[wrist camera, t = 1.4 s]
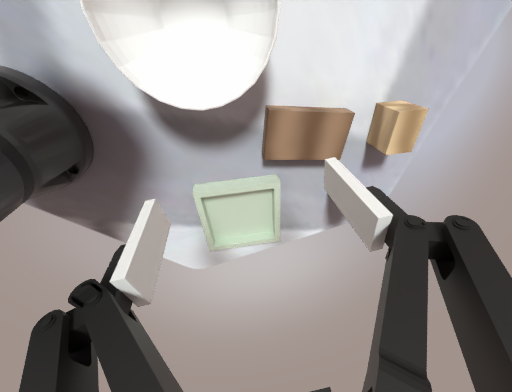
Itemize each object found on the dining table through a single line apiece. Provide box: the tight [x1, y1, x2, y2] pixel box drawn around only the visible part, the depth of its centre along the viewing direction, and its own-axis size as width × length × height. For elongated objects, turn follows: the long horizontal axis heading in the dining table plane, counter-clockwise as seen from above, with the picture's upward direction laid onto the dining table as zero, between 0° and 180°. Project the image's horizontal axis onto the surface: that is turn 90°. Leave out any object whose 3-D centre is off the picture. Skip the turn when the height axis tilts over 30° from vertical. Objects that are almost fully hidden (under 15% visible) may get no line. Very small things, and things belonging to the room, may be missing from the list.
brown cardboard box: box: [262, 105, 355, 160], centre depth 31 cm, size 12×7×3 cm, turn 87°
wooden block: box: [367, 101, 428, 155], centre depth 31 cm, size 4×6×5 cm, turn 4°
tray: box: [193, 174, 280, 251], centre depth 39 cm, size 14×14×3 cm
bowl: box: [79, 0, 280, 111], centre depth 20 cm, size 16×16×7 cm
